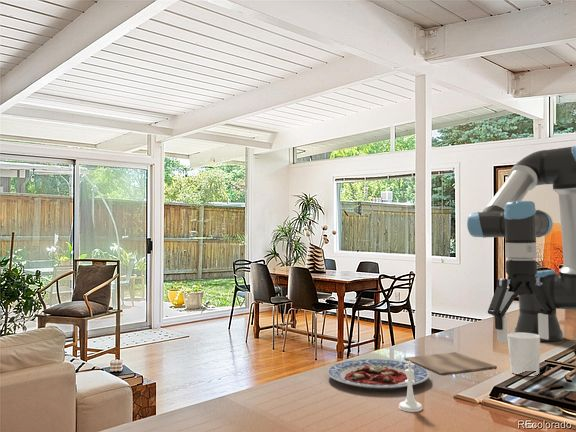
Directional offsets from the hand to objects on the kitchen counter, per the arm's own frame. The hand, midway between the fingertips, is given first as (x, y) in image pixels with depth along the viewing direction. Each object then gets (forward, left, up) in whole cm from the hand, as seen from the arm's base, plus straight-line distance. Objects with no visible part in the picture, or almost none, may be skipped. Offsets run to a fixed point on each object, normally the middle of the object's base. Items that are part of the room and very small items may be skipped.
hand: (523, 340), depth 135 cm
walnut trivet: (+12, -16, -9) cm, 22 cm away
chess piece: (+42, +12, -9) cm, 44 cm away
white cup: (0, 0, -9) cm, 9 cm away
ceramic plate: (+38, -10, -9) cm, 40 cm away
